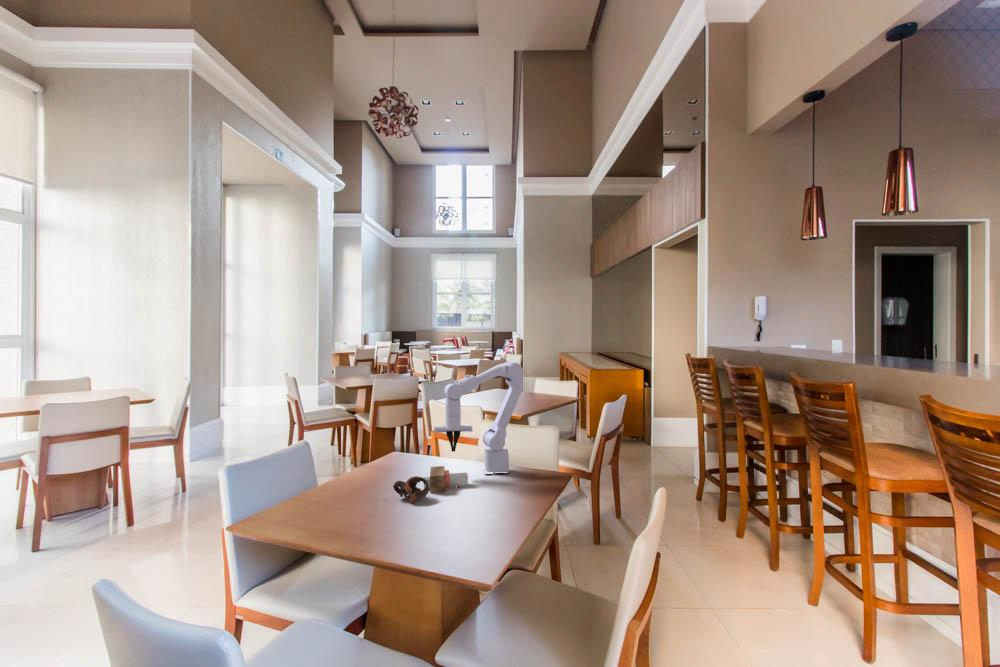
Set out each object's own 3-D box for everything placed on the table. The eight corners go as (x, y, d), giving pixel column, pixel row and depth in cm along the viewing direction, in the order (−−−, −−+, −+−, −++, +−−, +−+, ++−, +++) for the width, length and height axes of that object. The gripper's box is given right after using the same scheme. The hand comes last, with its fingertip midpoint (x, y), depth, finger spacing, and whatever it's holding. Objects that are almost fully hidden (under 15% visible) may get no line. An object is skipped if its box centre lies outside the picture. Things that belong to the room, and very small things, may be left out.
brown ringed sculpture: (428, 494, 164) (433, 476, 160) (423, 515, 155) (428, 497, 152) (393, 486, 163) (397, 468, 159) (387, 507, 154) (391, 489, 151)
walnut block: (444, 481, 176) (444, 466, 176) (444, 492, 164) (444, 475, 164) (430, 482, 175) (430, 466, 175) (430, 493, 163) (429, 476, 163)
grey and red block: (466, 482, 175) (466, 469, 175) (468, 487, 169) (468, 473, 169) (423, 485, 172) (423, 471, 172) (424, 490, 166) (423, 475, 166)
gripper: (471, 413, 187) (471, 447, 187) (434, 414, 185) (434, 449, 185) (472, 416, 180) (472, 451, 180) (433, 417, 178) (434, 453, 178)
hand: (453, 450), depth 182 cm, fingers closed
